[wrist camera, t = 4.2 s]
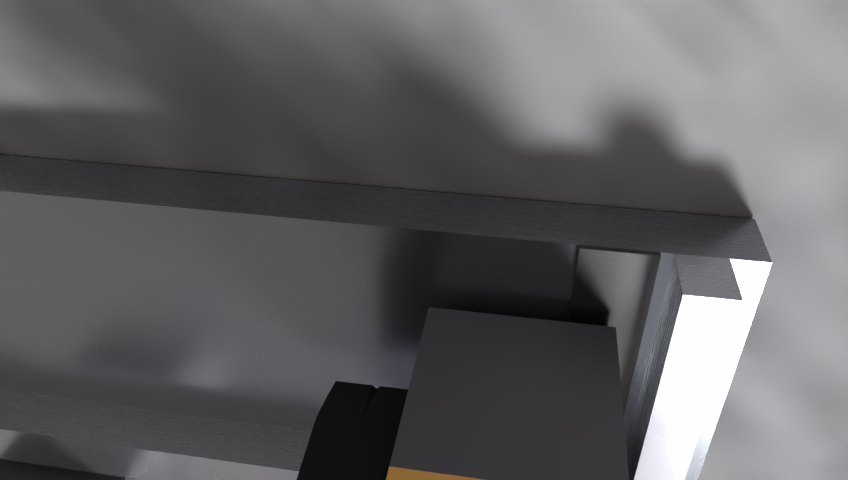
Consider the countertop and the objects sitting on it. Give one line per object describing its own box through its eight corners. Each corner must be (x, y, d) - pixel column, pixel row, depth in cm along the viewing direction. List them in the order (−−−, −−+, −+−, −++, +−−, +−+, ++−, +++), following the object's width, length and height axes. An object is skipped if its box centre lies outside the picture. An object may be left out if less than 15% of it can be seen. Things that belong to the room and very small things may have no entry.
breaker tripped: (587, 465, 13) (594, 670, 10) (427, 444, 14) (389, 635, 11) (615, 327, 11) (633, 528, 8) (428, 307, 12) (383, 492, 9)
